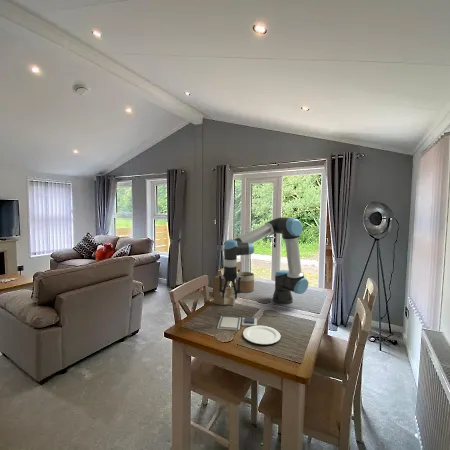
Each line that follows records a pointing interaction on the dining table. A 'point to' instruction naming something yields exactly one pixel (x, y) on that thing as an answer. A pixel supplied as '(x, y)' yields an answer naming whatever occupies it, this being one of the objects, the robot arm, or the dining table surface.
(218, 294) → the decorative block
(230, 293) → the stamp
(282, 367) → the dining table surface
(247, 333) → the plate
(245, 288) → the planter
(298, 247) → the robot arm
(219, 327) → the board
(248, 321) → the ink pad
